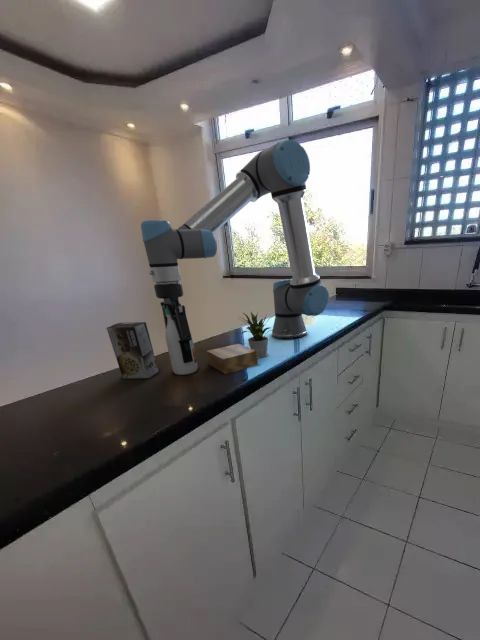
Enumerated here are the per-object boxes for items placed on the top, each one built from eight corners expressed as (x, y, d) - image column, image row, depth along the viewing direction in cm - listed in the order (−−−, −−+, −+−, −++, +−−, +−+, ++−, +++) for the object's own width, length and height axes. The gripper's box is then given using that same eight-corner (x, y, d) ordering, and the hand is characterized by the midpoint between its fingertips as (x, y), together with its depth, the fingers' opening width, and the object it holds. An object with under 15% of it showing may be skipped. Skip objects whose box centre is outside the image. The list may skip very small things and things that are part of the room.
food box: (159, 371, 101) (147, 321, 94) (149, 378, 95) (134, 326, 88) (133, 371, 102) (119, 322, 95) (121, 378, 96) (105, 326, 89)
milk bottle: (193, 375, 97) (180, 309, 88) (169, 375, 97) (154, 310, 88) (201, 366, 104) (190, 305, 95) (178, 367, 104) (165, 306, 95)
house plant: (228, 357, 111) (221, 311, 104) (254, 347, 121) (250, 305, 114) (257, 364, 104) (252, 314, 97) (283, 353, 114) (280, 307, 107)
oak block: (240, 357, 112) (238, 343, 109) (258, 365, 103) (256, 350, 101) (208, 365, 105) (206, 350, 103) (225, 374, 97) (223, 359, 94)
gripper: (143, 282, 94) (161, 354, 104) (166, 286, 79) (183, 369, 89) (168, 279, 98) (182, 349, 108) (194, 283, 83) (208, 363, 94)
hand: (183, 358), depth 99 cm, fingers closed on milk bottle, 8 cm apart
